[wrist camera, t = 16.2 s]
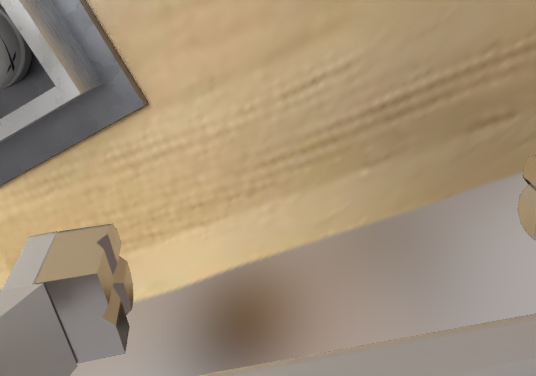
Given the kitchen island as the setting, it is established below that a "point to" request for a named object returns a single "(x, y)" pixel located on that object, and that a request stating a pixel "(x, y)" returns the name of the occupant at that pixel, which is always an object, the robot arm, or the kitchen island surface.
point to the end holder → (61, 84)
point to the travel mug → (12, 52)
